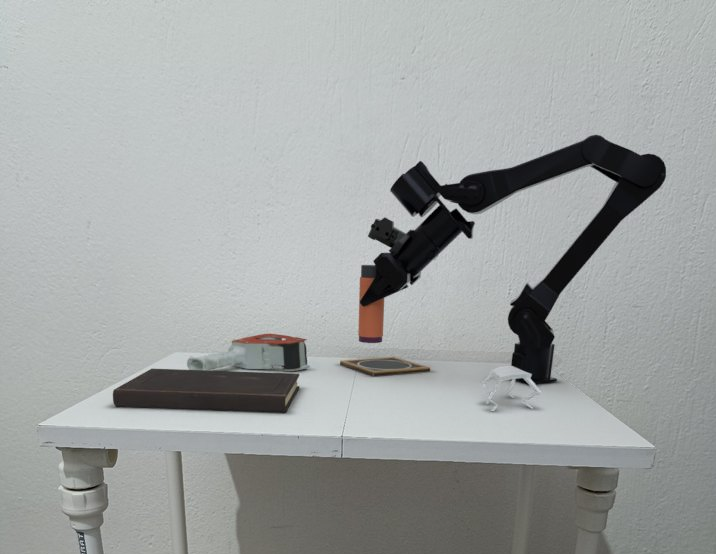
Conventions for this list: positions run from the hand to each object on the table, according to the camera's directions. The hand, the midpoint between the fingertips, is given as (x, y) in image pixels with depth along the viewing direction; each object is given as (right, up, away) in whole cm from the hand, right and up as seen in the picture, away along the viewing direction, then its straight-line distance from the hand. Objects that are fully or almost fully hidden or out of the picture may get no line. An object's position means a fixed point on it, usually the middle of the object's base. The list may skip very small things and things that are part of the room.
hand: (364, 303), depth 117 cm
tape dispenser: (-20, -11, +1) cm, 23 cm away
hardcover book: (-22, -19, -21) cm, 36 cm away
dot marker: (+1, -6, +2) cm, 7 cm away
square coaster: (+4, -11, +5) cm, 12 cm away
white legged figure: (+21, -20, -20) cm, 35 cm away
